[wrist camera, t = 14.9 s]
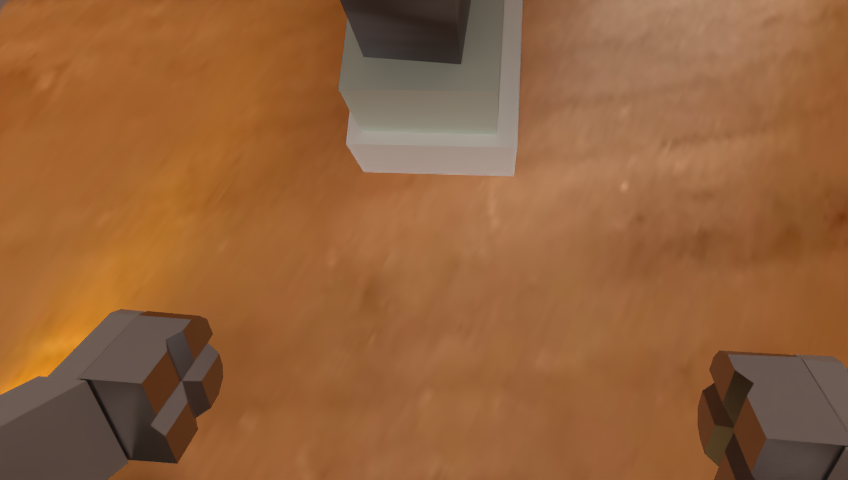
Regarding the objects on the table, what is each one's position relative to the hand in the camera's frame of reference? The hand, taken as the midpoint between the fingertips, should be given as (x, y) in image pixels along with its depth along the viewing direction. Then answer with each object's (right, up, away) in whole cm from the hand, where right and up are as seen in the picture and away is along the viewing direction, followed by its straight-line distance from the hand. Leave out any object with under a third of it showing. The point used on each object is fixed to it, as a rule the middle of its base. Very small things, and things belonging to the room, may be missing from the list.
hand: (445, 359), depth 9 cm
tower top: (0, +12, +24) cm, 27 cm away
